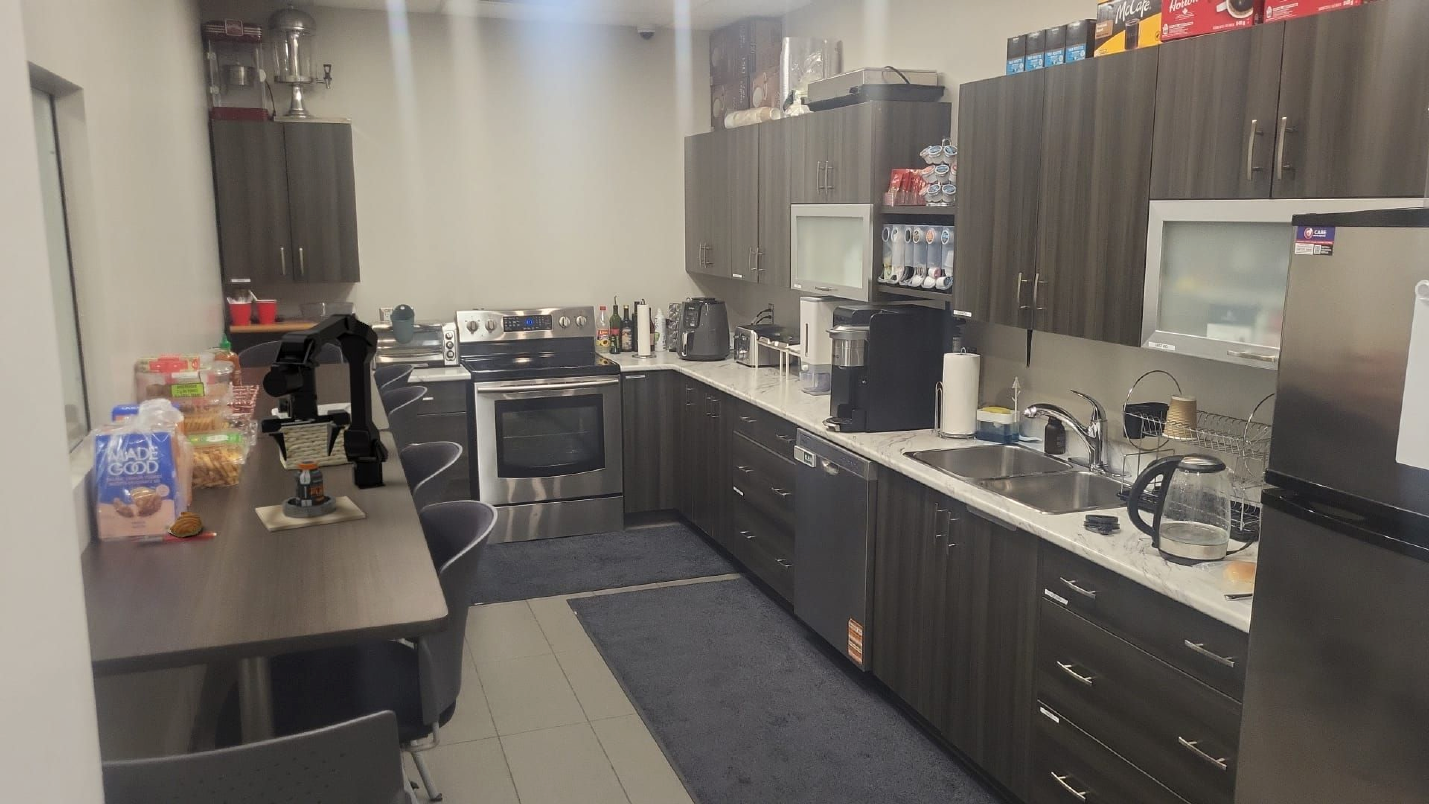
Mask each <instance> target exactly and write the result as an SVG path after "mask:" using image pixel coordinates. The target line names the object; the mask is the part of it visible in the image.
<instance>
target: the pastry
mask: <svg viewBox="0 0 1429 804" xmlns="http://www.w3.org/2000/svg"><path fill="white" fill-rule="evenodd" d="M180 512H181V516H178V518H177V521H176V522H175V524H174V525H173V526H172V527H171V528H170V530H171V532H172V533H173V534H174V535H176V536H177V537H176V538H185V537H188V536H197V535H198V534H199V533H200V532H201V531H202V527H203V525H204V524H203V522H202V520H201V517H200V516H199V515H198V514H196V513H192V512H190V511H180ZM199 531H200V532H199ZM198 532H199V533H198ZM196 534H197V535H196Z"/></svg>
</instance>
